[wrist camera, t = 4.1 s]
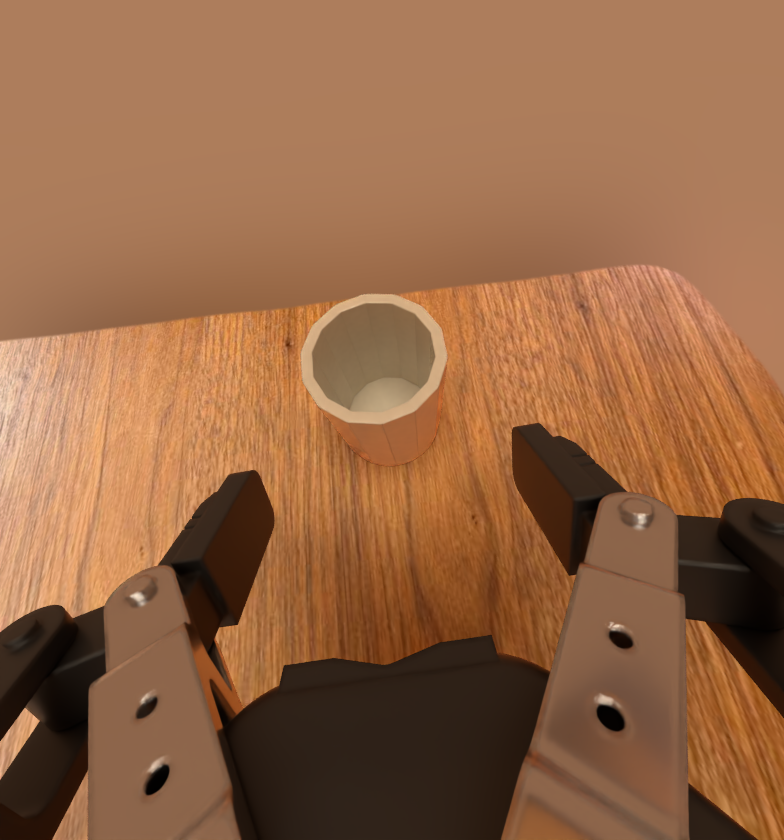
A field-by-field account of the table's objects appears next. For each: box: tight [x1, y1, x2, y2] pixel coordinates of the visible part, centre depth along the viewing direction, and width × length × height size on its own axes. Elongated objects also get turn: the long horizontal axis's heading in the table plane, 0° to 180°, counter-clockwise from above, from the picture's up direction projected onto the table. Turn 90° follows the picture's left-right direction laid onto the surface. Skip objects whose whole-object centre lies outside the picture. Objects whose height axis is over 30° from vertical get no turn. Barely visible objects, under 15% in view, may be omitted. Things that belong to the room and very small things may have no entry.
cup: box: [301, 294, 448, 466], centre depth 18 cm, size 6×6×8 cm
